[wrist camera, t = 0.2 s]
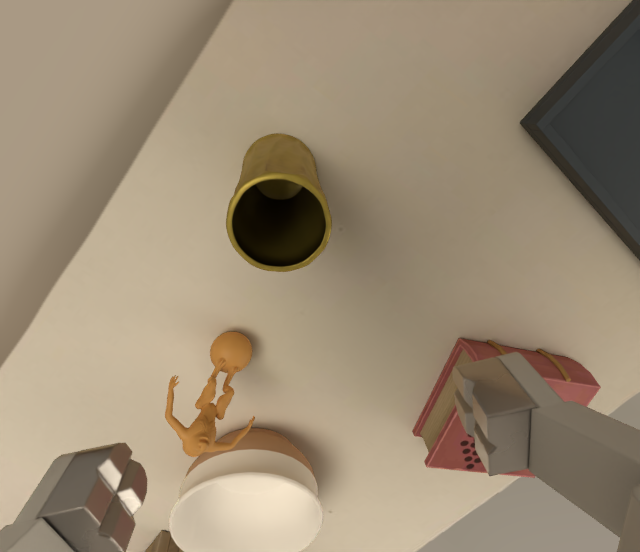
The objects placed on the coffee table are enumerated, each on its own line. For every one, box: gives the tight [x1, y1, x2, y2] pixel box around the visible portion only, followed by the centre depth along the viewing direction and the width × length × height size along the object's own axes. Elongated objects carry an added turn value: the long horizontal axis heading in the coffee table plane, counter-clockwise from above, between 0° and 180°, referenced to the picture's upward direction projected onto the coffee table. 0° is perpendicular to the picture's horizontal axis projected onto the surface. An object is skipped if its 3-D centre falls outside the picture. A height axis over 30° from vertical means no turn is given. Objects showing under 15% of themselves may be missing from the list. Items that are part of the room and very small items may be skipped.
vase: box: [226, 134, 332, 272], centre depth 25 cm, size 6×6×14 cm
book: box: [412, 338, 601, 478], centre depth 43 cm, size 14×15×5 cm
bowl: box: [169, 428, 323, 552], centre depth 42 cm, size 16×16×8 cm
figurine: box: [165, 332, 255, 457], centre depth 33 cm, size 8×6×12 cm
